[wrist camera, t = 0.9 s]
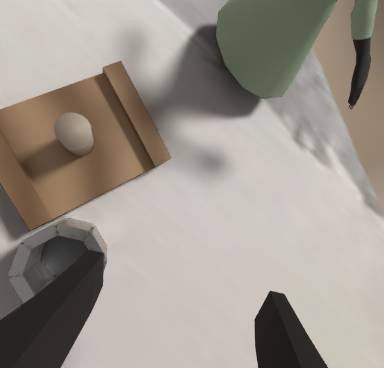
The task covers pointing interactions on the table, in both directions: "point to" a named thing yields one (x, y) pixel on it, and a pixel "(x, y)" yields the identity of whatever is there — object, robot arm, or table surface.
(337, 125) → the table surface
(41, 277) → the tube
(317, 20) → the character figurine
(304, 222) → the table surface
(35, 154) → the shaft block
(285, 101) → the table surface
